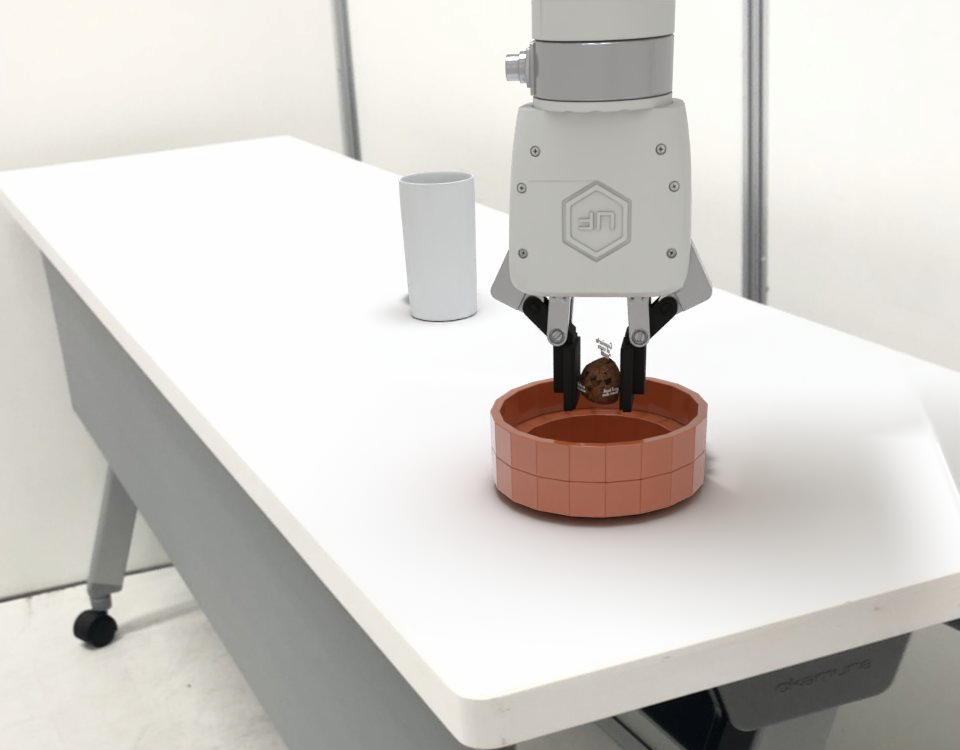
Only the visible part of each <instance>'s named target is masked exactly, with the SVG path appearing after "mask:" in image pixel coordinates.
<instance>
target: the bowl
mask: <svg viewBox="0 0 960 750" xmlns="http://www.w3.org/2000/svg"><path fill="white" fill-rule="evenodd" d="M619 397H620V394H619ZM619 397H618V400H617V401H616V402H615V403H613V404H606V405H602V404H596V403H593V402H591V401H589V400H587V399H586V398H585V397H584V396H583V395H582V394H581V391H580V398H579V401H578V404H577V407H576V409H573V411H564V408H563V393H554V387H553V377H551V378H550V377H549V378H545V379H539V380H536V381H535V380H534V381H530V382H529V383H526V384H522V385H519V386H517V387H514V388H512V389H510V390H508V391H506V392H505V393H503V394H502V395H501V396H499V397H498V398H496V399H495V400H494V403H493V405H492V406H491V408H490V410H489V418H490V419H489V420H490V421H489V422H490V440H491V441H490V444H491V468H492V469H491V470H492V479H493V481H494V485H495V486H496V489H497V490H498V491H499V492H501V493H502V494H503V495H504V496H505V497H507V498H508V499H510V500H511V501H512V502H514V503H516V504H519V505H522V506H524V507H526V508H530V509H532V510H535V511H539V512H545V513H550V514H556V515H561V516H567V517H576V518H588V519H591V518H592V519H595V518H597V519H605V518H618V517H627V516H633V515H642V514H646V513H650V512H654V511H658V510H662V509H665V508H669V507H672V506H674V505H676V504H678V503H680V502H682V501H685V500H686V499H689V498H690V497H692V496H693V495H694V494H695V493H696V492H697V491H698V490H699V489H700V488H701V487H702V486H703V484H704V481H705V468H706V467H705V465H706V451H707V430H708V413H709V412H708V411H709V404H708V402H707V401H706V400H705V399H704V398H703V397H702V396H701V394H699V392H696V391H694V390H692V389H691V388H688V387H686V386H684V385H682V384H679V383H677V382H673V381H669V380H665V379H661V378H657V377H652V376H646V383H645V393H644V394H634V401H633V406H632V411H631V412H623V410H619Z"/></svg>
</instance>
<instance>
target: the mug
mask: <svg viewBox="0 0 960 750" xmlns="http://www.w3.org/2000/svg"><path fill="white" fill-rule="evenodd" d="M398 187H399V188H398V189H399V205H400V214H401V215H400V217H401V228H402V237H403V247H404V259H405V270H406V281H407V282H406V283H407V291H408V300H409V311H410V315H411V316H412V317H414V318H416V319H419V320H422V321H429V322H446V321H455V320H456V321H457V320H461V319H465V318H468V317H471V316H473V315H474V314H476V313H477V311H478V298H477V297H478V296H477V295H478V293H477V290H478V287H477V284H478V278H477V274H478V273H477V233H476V227H477V226H476V193H475V175H474V174H473V173H471V172H467V171H461V170H432V171H422V172H414V173H410V174H405V175H402V176H400V177H399V178H398Z"/></svg>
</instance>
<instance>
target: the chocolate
mask: <svg viewBox="0 0 960 750" xmlns="http://www.w3.org/2000/svg"><path fill="white" fill-rule="evenodd" d="M604 341H605V340H604V339H602V340H601V339H600V337H597V338H595V343H597V349H598V350H600V355H601V356H602V357H599V358H597V359H595V360H592V361H591V362H589V363H587V364H586V365H585V366H584V367H583V369H582V371H581V375H580V378H579V382H578V386H579V387H578V386H577V389H579V390H580V391H581V394H582V395H583V396H584V397H585V398H586V399H587V400H589V401H591V402H593V403H596V404H602V405H606V404H613V403H615V402H616V401H617V400H618V397H619V394H620V367H619V366H618V364H617V363H616V362H615V360H613V359H612V358H611V350H612V349H613V343H612V342H609V343H606V342H604Z"/></svg>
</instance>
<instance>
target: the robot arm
mask: <svg viewBox="0 0 960 750" xmlns="http://www.w3.org/2000/svg"><path fill="white" fill-rule="evenodd" d="M676 2H677V1H676V0H531V4H530V5H531V39H533V40H531V41H530V42H529V46H528V47H527V48H525V50H520V51H519V53H509V54H506V55H505V61H504V63H505V64H504V67H505V68H504V70H505V72H504V73H505V79H506V81H507V82H519V84H526V88H527V89H529V90H530V91H529V92H530V96H532V101H531V102H527V103H524V104H522V105H520V106H518V110H517V114H516V120H515V126H514V134H513V142H512V151H511V152H512V153H511V167H510V182H509V183H510V184H509V208H508V209H509V211H508V212H509V213H508V214H509V215H508V250H507V252H506V254H505V256H504V259H503V260H502V263H501V265H500V268H499V269H498V271H497V274H496V276H495V278H494V280H493V282H492V285H491V286H490V289H489V290H490V296H491V297H492V298H493V299H495V300H496V301H498V302H500V303H502V304H504V305H505V306H508V307H510V308H511V309H513V310H515V311H519V312H521V313H523V314H524V316H525V317H526V318H527V319H529V320H530V322H532V324H533V325H534V326H536V328H537V329H538V330H539V331H541V333H543V335H544V336H545V337H546V339H547V342H548V343H549V344H550V345H551V346H552V361H553V362H552V374H553V375H552V376H553V377H552V378H553V387H554V393H563V408H564V411H573V409H576V407H577V404H578V401H579V398H580V390H579V389H577V386H578V382H579V378H580V375H581V373H582V371H581V366H582V365H581V364H582V363H581V362H582V361H581V359H582V358H581V356H582V355H581V353H582V352H581V351H582V350H581V349H582V347H581V346H582V345H581V342H582V339H581V336H580V335H578V333H579V332H577V327H576V325H575V324H573V322H574V321H573V320H574V319H573V318H574V308H575V307H574V306H575V305H574V304H575V298H626V304H627V305H626V306H627V323H628V326H626V330H625V333H624V336H623V338H622V341H621V345H620V349H619V350H620V351H619V371H620V397H619V410H623V412H631V411H632V406H633V401H634V394H644V393H645V383H646V377H647V348H648V344H649V342H650V340H651V339H652V338H654V336H656V334H658V333H659V332H660V331H661V330H662V329H663V328H664V327H665V326H666V325H667V324H668V323H669V322H670V321H671V320H672V319H673V318H674V317H675V316H676V315H679V314H680V313H683V312H685V311H688V310H689V309H693V308H694V307H696V306H698V305H700V304H703V303H705V302H707V301H708V300H710V299H711V297H712V295H713V282H712V280H711V279H710V276H709V274H708V272H707V269H706V266H705V265H704V263H703V259H702V257H700V254H699V252H698V249H697V248H696V245H695V243H694V241H693V238H692V203H693V198H692V194H693V192H692V190H693V189H692V157H691V155H692V154H691V141H690V129H689V121H688V120H689V119H688V115H687V109H686V103H685V102H684V100H683V99H681V98H678V97H673V87H674V86H673V84H674V83H673V82H674V80H673V79H674V78H673V77H674V57H675V55H674V54H675V34H674V33H675V32H676V31H675V30H676V29H675V28H676ZM654 297H657V298H656V299H655V300H654V301H652V299H653V298H654ZM578 387H579V386H578Z"/></svg>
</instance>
